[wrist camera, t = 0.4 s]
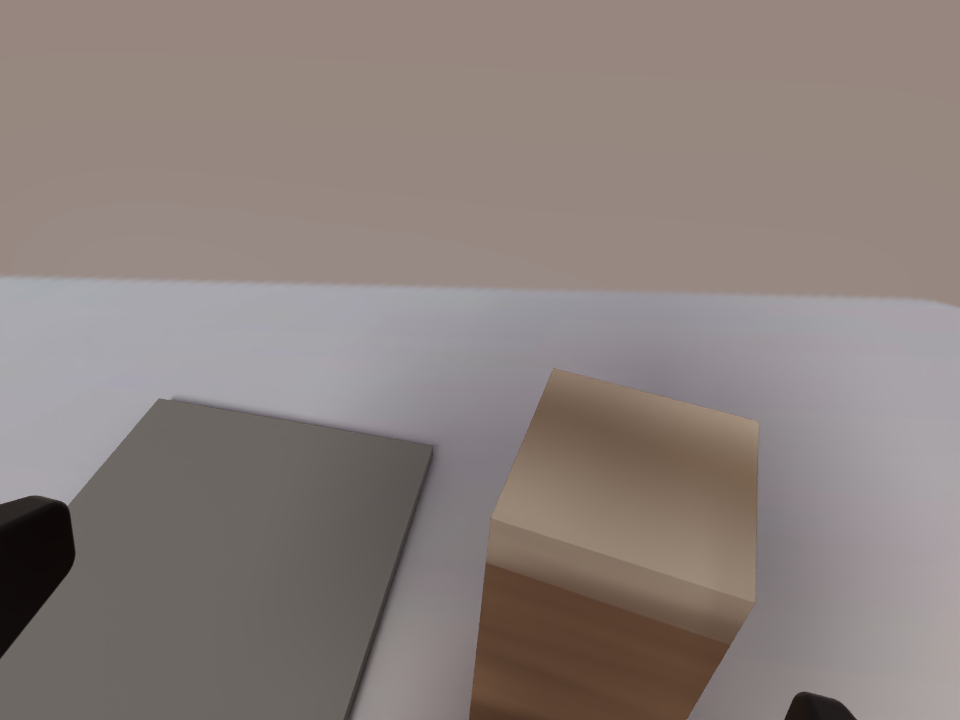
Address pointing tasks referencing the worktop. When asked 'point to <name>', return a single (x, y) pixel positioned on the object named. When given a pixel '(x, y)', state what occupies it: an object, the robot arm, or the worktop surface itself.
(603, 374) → the worktop surface
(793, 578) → the worktop surface
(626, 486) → the walnut block
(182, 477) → the slate mat
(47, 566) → the robot arm
